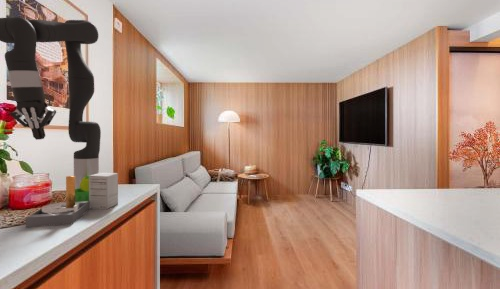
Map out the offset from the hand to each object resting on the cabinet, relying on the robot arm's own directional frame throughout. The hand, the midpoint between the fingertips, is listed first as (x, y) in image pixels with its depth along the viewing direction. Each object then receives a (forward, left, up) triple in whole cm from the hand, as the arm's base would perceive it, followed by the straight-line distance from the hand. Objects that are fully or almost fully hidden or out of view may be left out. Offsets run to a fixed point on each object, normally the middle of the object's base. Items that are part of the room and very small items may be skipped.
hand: (40, 139), depth 82 cm
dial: (+3, +7, -24) cm, 26 cm away
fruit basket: (-16, +9, -26) cm, 32 cm away
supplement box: (-8, +17, -26) cm, 32 cm away
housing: (+3, +7, -26) cm, 27 cm away
